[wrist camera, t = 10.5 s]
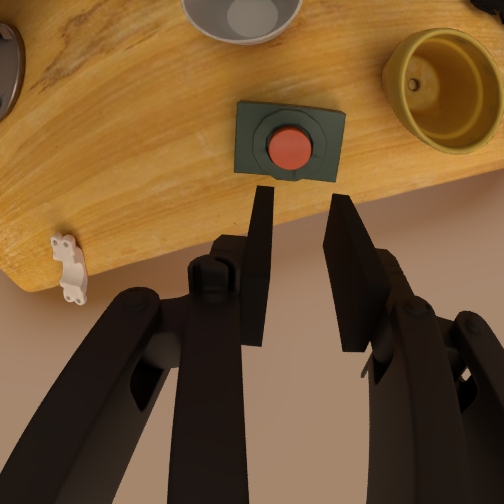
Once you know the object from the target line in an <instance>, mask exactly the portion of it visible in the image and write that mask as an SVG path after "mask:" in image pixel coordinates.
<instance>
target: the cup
mask: <svg viewBox="0 0 504 504" xmlns="http://www.w3.org/2000/svg"><path fill="white" fill-rule="evenodd" d="M302 1H303V0H181V4H182V8H183V11H184V13H185V15H186V17H187V19H188V20H189V21H190V23H191V24H192V25H193V26H194V27H195V28H196V29H198V30H199V31H200V32H202V33H203V34H205V35H207V36H209V37H211V38H214V39H216V40H220V41H224V42H228V43H232V44H236V45H255V44H260V43H264V42H267V41H269V40H271V39H273V38H275V37H277V36H278V35H280V34H281V33H282V32H283V31H284V30H285V29H286V28H287V27H288V26H289V25H290V23H291V22H292V20H293V19H294V18H295V16H296V15H297V13H298V11H299V9H300V7H301V4H302Z"/></svg>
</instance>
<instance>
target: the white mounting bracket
mask: <svg viewBox="0 0 504 504" xmlns="http://www.w3.org/2000/svg"><path fill="white" fill-rule="evenodd" d="M50 242H51V244H52V248H53V250H54V252H53V259H54V260H58V261H62V263H63V273H62V277H61V279H60V281H59V283H60V286H62V287H64V292H63V293H64V298H65V299H66V300H67V301H68V302H73V301H75V302H76V303H77V304H79V305H83V304H84V303H86V300H87V296H86V295H85V293H86V290H87V284H88V279H87V272H86V267H85V262H84V256H83V252H82V250H81V249H80V248H79V247H78V246H76V245H75V244H76V243H75V239H74V237H73V236H72V235H69V234H68V235H65V236H64V237H63V235H62V234H61V233H58V232H57V233H55V234H54V235H53V236H52V237H51V239H50Z"/></svg>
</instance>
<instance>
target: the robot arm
mask: <svg viewBox="0 0 504 504" xmlns="http://www.w3.org/2000/svg"><path fill="white" fill-rule="evenodd" d="M24 70H25V51H24V45H23V41H22V38H21V36H20V34H19V32H18V31H17V29H16V28H15V27H13V26H12V25H10V24H7V23H0V122H1V121H2V120H3V119H4V118H6V116H7V115H8V114H9V113H10V111H11V110H12V108H13V107H14V105H15V103H16V101H17V98H18V96H19V93H20V90H21V86H22V82H23V77H24ZM273 206H274V187H269V186H258V185H257V188H256V193H255V199H254V204H253V209H252V215H251V220H250V225H249V231H248V236H247V237H246V236H235V235H224V234H222V235H221V236H220V237H218V238H217V239H216V240H215V241H214V242H213V245H212V248H211V251H210V254H208V255H203V256H200V257H197V258H196V259H194V260H193V261H191V262H190V264H189V266H188V281H189V294H187V295H185V296H182V297H179V298H172V299H162V300H160V298H159V295H158V294H157V293H156V292H155V291H154V290H152V289H149V288H147V287H134V288H129V289H127V290H124V291H122V292H120V293H119V294H118V295H117V296H116V297H115V298H114V299H113V301H112V302H111V303H110V305H109V306H108V307H107V309H106V310H105V311H104V313H103V314H102V315H101V317H100V318H99V319H98V321H97V322H96V323H95V325H94V326H93V328H92V329H91V330H90V332H89V333H88V335H87V336H86V337H85V339H84V340H83V342H82V343H81V344H80V346H79V347H78V348H77V350H76V351H75V353H74V354H73V356H72V357H71V359H70V360H69V361H68V363H67V364H66V366H65V367H64V369H63V370H62V372H61V373H60V375H59V376H58V378H57V379H56V381H55V383H54V384H53V385H52V387H51V388H50V390H49V391H48V393H47V395H46V396H45V398H44V399H43V401H42V402H41V404H40V406H39V407H38V409H37V411H36V412H35V414H34V415H33V417H32V419H31V420H30V422H29V424H28V425H27V427H26V429H25V430H24V432H23V434H22V435H21V437H20V439H19V441H18V443H17V444H16V446H15V448H14V449H13V451H12V453H11V455H10V457H9V459H8V460H7V462H6V464H5V466H4V468H3V470H2V472H1V473H0V504H112V502H113V499H114V497H115V495H116V492H117V490H118V487H119V485H120V483H121V480H122V478H123V476H124V473H125V471H126V469H127V466H128V464H129V462H130V459H131V457H132V455H133V452H134V450H135V448H136V445H137V443H138V441H139V438H140V436H141V434H142V431H143V429H144V427H145V425H146V423H147V420H148V418H149V416H150V414H151V411H152V409H153V407H154V404H155V402H156V400H157V398H158V395H159V393H160V391H161V389H162V387H163V385H164V382H165V380H166V378H167V376H168V373H169V371H170V369H171V368H176V367H179V372H178V380H177V390H176V398H175V407H174V418H173V427H172V439H171V451H170V463H169V478H168V495H167V504H249V491H248V474H247V457H246V440H245V439H246V438H245V421H244V420H245V419H244V400H243V377H242V357H241V356H242V355H241V345H248V346H258V347H261V346H262V339H263V331H264V323H265V314H266V307H267V299H268V290H269V282H270V270H271V250H272V249H271V248H272V228H273ZM323 249H324V254H325V259H326V264H327V268H328V273H329V278H330V283H331V288H332V293H333V299H334V304H335V310H336V315H337V321H338V326H339V332H340V338H341V344H342V351H343V352H365V350H366V348H367V346H368V344H369V341H370V342H371V346H372V350H373V351H372V353H371V355H370V357H369V359H368V361H367V363H366V365H365V367H364V369H363V371H362V373H361V378H364V376H365V375H366V373H367V371H368V375H369V377H368V378H369V412H370V413H369V417H370V429H369V469H368V487H367V501H366V504H504V349H503V347H502V346H501V344H500V342H499V341H498V339H497V337H496V336H495V334H494V333H493V331H492V330H491V328H490V327H489V325H488V324H487V323H486V321H485V320H484V319H483V318H482V317H481V316H479V315H478V314H476V313H474V312H471V311H462V312H459V314H458V315H457V317H456V318H455V320H454V321H451V320H448V319H444V318H441V317H438V316H436V315H435V312H434V310H433V308H432V306H431V305H430V304H429V303H428V302H427V301H426V300H424V299H422V298H421V297H419V296H415V295H414V293H413V292H412V289H411V287H410V285H409V283H408V281H407V279H406V277H405V275H404V274H403V271H402V269H401V268H400V265H399V264H398V261H397V260H396V257H394V256H393V255H392V254H391V253H390V252H389V251H388V250H386V249H378V248H375V247H374V245H373V243H372V241H371V239H370V236H369V234H368V232H367V230H366V228H365V226H364V224H363V222H362V220H361V218H360V216H359V214H358V212H357V210H356V208H355V206H354V204H353V202H352V201H351V199H350V197H349V195H342V194H334V193H333V194H332V200H331V205H330V211H329V216H328V222H327V227H326V232H325V237H324V242H323ZM467 367H468V369H469V371H470V373H471V376H470V377H469V378H468V379H467V381H465V380H464V379H463V378H462V376H461V375H462V374H463V373H464V371H465V370H466V369H467Z"/></svg>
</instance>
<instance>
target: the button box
mask: <svg viewBox="0 0 504 504" xmlns="http://www.w3.org/2000/svg"><path fill="white" fill-rule="evenodd" d="M345 117H346V114H345V113H343V112H342V111H338V110H331V109H324V108H317V107H310V106H302V105H293V104H283V103H272V102H259V101H244V100H240V101H239V102H238V103H237V119H236V139H235V161H234V172H235V173H248V174H260V175H271V176H272V177H274V178H275V179H277V180H286V181H298V180H300V179H310V180H319V181H327V182H336V177H337V171H338V165H339V159H340V152H341V146H342V139H343V132H344V125H345ZM286 126H292V127H296V128H299V129H300V130H302V131H303V132H304V133H305V134H306V135H307V137H308V139H309V141H310V144H311V156H310V158H309V160H308V162H307V163H306V164H305V165H304V166H302V167H300V168H298V169H294V170H286V169H283V168H280V167H279V166H277V165H276V164H275V163H274V162H273V161H272V159H271V157H270V155H269V142H270V139H271V136H272V135H273V134H274V132H275V131H277V130H278V129H280V128H282V127H286Z"/></svg>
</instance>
